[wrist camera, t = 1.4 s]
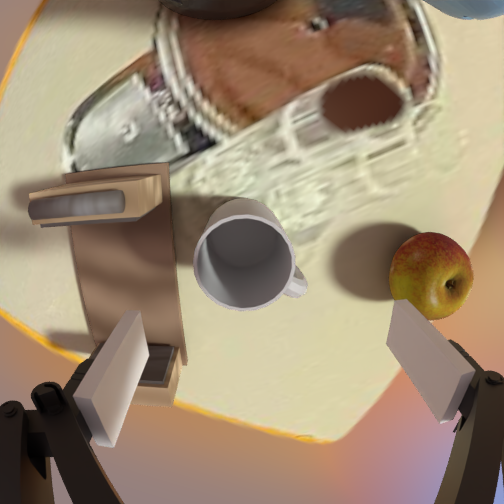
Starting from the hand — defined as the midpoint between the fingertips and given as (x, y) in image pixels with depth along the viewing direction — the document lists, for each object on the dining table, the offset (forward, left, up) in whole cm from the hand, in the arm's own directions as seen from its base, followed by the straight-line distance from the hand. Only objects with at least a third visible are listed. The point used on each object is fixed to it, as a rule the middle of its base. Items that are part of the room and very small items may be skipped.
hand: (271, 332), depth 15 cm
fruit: (+3, +18, -17) cm, 25 cm away
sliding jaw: (-6, -14, -15) cm, 21 cm away
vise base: (+3, -14, -16) cm, 22 cm away
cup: (0, 0, -17) cm, 17 cm away
